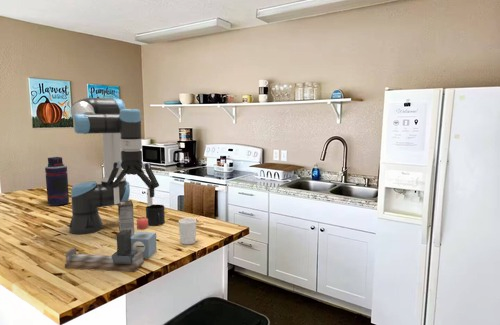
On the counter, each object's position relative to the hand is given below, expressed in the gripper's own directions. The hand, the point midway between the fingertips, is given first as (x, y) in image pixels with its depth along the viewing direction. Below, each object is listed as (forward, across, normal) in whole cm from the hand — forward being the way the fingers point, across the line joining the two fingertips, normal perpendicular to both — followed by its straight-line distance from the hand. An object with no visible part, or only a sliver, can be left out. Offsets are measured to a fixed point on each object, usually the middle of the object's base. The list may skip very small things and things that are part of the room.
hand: (133, 204), depth 133 cm
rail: (+22, -9, -7) cm, 25 cm away
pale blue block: (+22, +1, +5) cm, 23 cm away
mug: (+23, -10, +44) cm, 50 cm away
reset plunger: (+11, +1, +5) cm, 12 cm away
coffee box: (+23, -16, +25) cm, 37 cm away
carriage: (+20, -1, -7) cm, 21 cm away
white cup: (+22, +15, +21) cm, 34 cm away
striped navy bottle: (+24, -87, +72) cm, 116 cm away
